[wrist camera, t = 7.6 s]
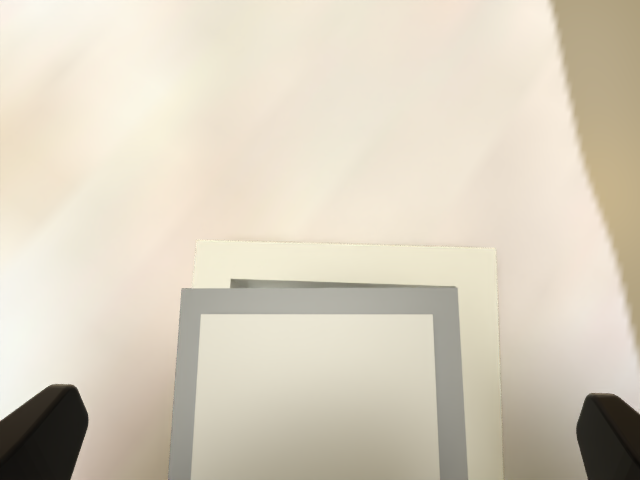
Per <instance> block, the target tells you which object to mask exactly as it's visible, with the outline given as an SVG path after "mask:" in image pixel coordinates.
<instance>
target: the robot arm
mask: <svg viewBox="0 0 640 480" xmlns="http://www.w3.org/2000/svg"><path fill="white" fill-rule="evenodd" d="M87 427H88V413H87V411H86V408H85V406H84V403H83V401H82V399H81V396H80V394H79V391H78V389H77V388H76V387H75V386H74V385H71V384H53V385H50V386H48V387H47V388H45V389H44V390H42V391H41V392H40V393H38V394H37V395H35V396H34V397H33V398H31V399H30V400H29V401H27V402H26V403H24V404H23V405H22V406H20V407H19V408H18V409H16V410H15V411H13V412H12V413H11V414H9V415H8V416H7V417H5V418H4V419H3V420H1V421H0V480H70V479H71V476H72V473H73V470H74V467H75V464H76V461H77V458H78V455H79V452H80V449H81V446H82V443H83V440H84V437H85V434H86V431H87ZM576 434H577V440H578V444H579V447H580V451H581V455H582V459H583V462H584V466H585V470H586V473H587V477H588V480H640V414H639V413H638V412H636V411H635V410H634V409H633V408H632V407H630V406H629V405H628V404H627V403H626V402H624V401H623V400H622V399H621V398H619V397H618V396H616V395H614V394H610V393H591V394H589V395H587V396H586V398H585V401H584V404H583V407H582V410H581V413H580V416H579V419H578V422H577V427H576Z"/></svg>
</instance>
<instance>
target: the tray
mask: <svg viewBox="0 0 640 480" xmlns="http://www.w3.org/2000/svg"><path fill="white" fill-rule="evenodd" d="M192 288H458V304H459V322H460V340H461V358H462V376H463V394H464V412H465V430H466V448H467V467H468V480H504V464H503V435H502V406H501V377H500V348H499V319H498V290H497V261H496V248H478V247H442V246H405V245H369V244H333V243H296V242H260V241H224V240H197V242H196V252H195V261H194V271H193V280H192Z"/></svg>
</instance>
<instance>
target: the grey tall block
mask: <svg viewBox="0 0 640 480" xmlns="http://www.w3.org/2000/svg"><path fill="white" fill-rule="evenodd" d="M168 480H468V467H467V448H466V430H465V412H464V394H463V376H462V358H461V340H460V322H459V304H458V288H182V290H181V304H180V318H179V332H178V346H177V360H176V374H175V388H174V402H173V416H172V430H171V444H170V458H169V472H168Z"/></svg>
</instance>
